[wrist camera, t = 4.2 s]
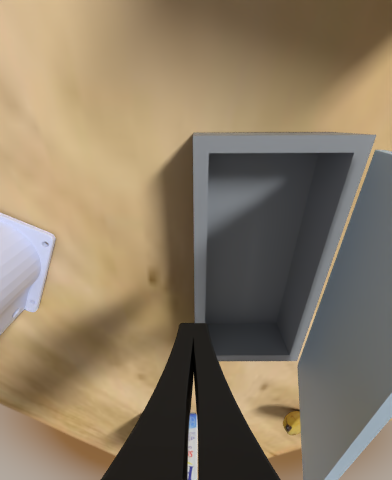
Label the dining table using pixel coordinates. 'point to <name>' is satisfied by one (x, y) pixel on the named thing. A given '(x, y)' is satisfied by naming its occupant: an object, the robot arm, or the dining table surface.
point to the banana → (292, 423)
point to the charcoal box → (268, 233)
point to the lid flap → (351, 338)
